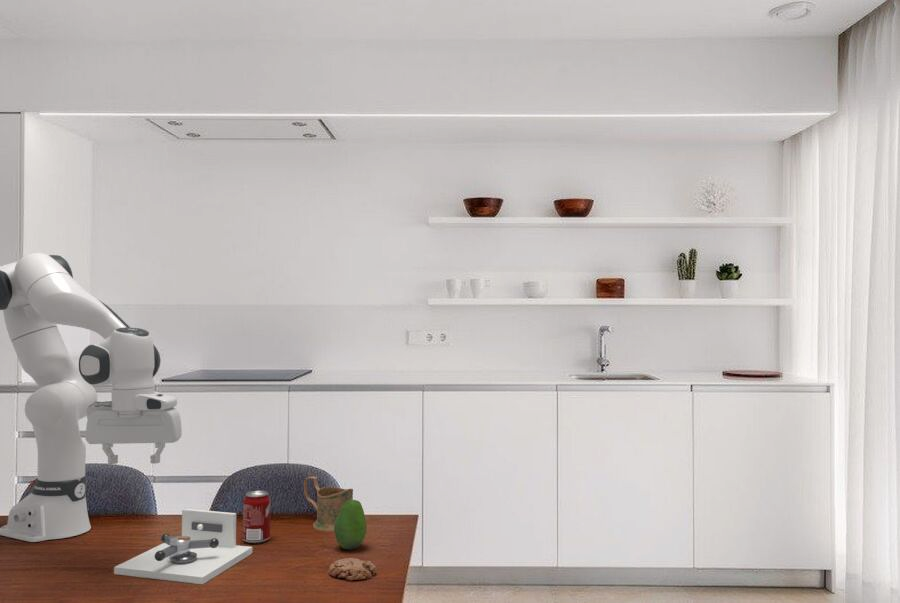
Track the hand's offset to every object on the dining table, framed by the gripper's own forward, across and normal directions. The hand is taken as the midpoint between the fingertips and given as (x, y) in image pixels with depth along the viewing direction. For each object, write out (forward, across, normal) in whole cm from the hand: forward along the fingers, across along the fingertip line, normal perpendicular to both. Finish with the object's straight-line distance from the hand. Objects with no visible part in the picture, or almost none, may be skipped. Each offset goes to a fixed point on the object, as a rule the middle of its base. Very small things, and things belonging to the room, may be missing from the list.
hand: (134, 463), depth 162 cm
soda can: (+25, +20, +24) cm, 40 cm away
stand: (+24, +9, +7) cm, 27 cm away
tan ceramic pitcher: (+26, +35, +40) cm, 59 cm away
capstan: (+23, +8, +3) cm, 24 cm away
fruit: (+26, +45, +19) cm, 55 cm away
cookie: (+26, +48, +2) cm, 54 cm away
